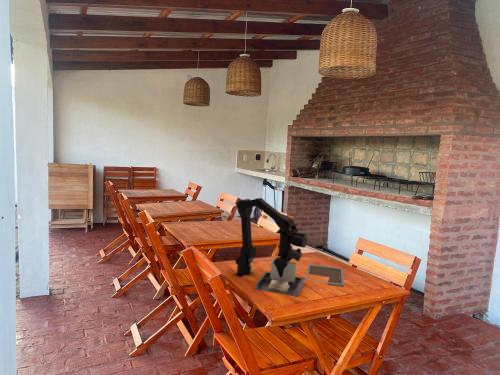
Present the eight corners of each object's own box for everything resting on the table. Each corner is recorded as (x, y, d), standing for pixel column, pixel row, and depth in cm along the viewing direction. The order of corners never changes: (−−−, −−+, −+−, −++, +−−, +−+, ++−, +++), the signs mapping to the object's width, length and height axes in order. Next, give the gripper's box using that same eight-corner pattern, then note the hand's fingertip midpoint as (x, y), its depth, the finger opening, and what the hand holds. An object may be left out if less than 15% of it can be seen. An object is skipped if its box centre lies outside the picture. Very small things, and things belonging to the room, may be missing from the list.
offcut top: (270, 285, 186) (270, 282, 186) (271, 282, 190) (271, 279, 190) (287, 287, 184) (287, 284, 184) (288, 284, 189) (288, 281, 189)
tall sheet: (269, 282, 195) (271, 260, 194) (270, 280, 197) (272, 259, 195) (293, 286, 191) (295, 264, 190) (294, 284, 193) (296, 262, 192)
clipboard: (305, 279, 201) (308, 262, 230) (305, 283, 201) (308, 265, 230) (344, 285, 197) (342, 266, 226) (343, 288, 197) (342, 269, 227)
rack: (254, 291, 184) (255, 283, 184) (265, 278, 202) (265, 270, 202) (297, 298, 179) (297, 290, 178) (304, 284, 197) (304, 277, 196)
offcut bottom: (268, 288, 186) (268, 285, 186) (271, 284, 191) (271, 281, 191) (287, 291, 184) (287, 288, 184) (289, 288, 189) (289, 284, 188)
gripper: (298, 250, 181) (295, 283, 182) (304, 241, 198) (302, 271, 200) (274, 247, 184) (272, 279, 186) (283, 238, 201) (280, 268, 203)
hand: (282, 274), depth 194 cm, fingers open, 8 cm apart
